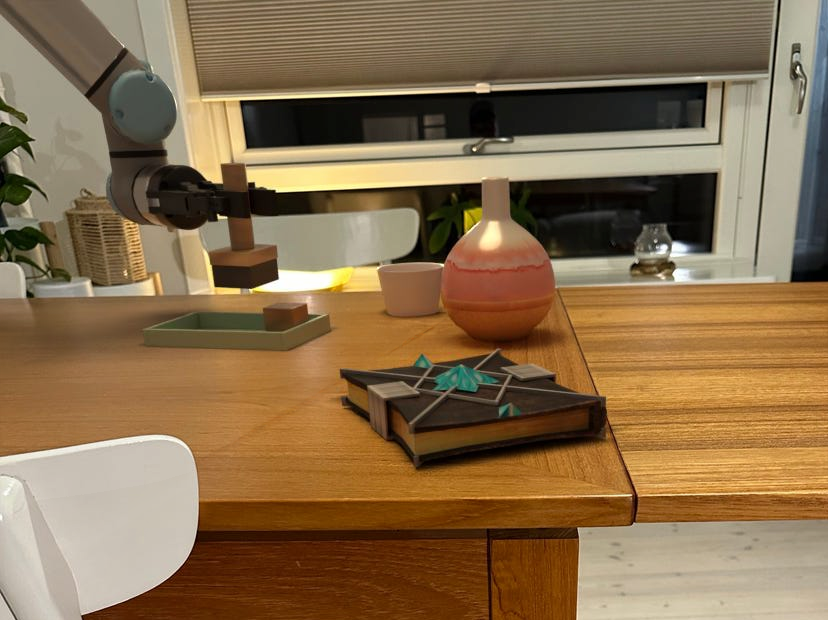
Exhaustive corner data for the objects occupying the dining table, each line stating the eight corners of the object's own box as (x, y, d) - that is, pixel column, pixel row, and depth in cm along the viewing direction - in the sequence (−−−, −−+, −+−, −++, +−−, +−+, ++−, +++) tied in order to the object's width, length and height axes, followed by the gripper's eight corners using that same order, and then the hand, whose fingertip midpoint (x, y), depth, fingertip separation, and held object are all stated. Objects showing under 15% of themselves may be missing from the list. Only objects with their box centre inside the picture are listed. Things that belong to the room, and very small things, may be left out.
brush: (212, 287, 113) (196, 165, 106) (242, 277, 119) (228, 161, 112) (252, 289, 112) (237, 165, 105) (280, 279, 118) (268, 161, 111)
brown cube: (266, 342, 116) (262, 308, 114) (281, 336, 119) (277, 302, 117) (296, 343, 115) (292, 308, 113) (311, 336, 118) (307, 302, 116)
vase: (577, 339, 114) (579, 175, 105) (477, 354, 108) (471, 183, 100) (517, 322, 124) (515, 172, 116) (424, 335, 119) (414, 179, 110)
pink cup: (393, 324, 126) (389, 274, 123) (371, 314, 134) (367, 266, 131) (455, 317, 129) (453, 267, 126) (431, 307, 137) (428, 260, 134)
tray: (146, 351, 117) (142, 329, 115) (199, 331, 127) (196, 311, 126) (287, 355, 111) (284, 332, 110) (331, 334, 122) (329, 313, 120)
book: (608, 439, 78) (609, 378, 76) (413, 471, 73) (409, 406, 70) (502, 383, 96) (501, 332, 94) (339, 406, 91) (333, 352, 88)
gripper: (235, 223, 129) (324, 234, 113) (120, 233, 121) (199, 246, 104) (226, 162, 126) (318, 163, 110) (108, 167, 117) (188, 170, 101)
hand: (260, 204), depth 107 cm, fingers closed on brush, 3 cm apart
